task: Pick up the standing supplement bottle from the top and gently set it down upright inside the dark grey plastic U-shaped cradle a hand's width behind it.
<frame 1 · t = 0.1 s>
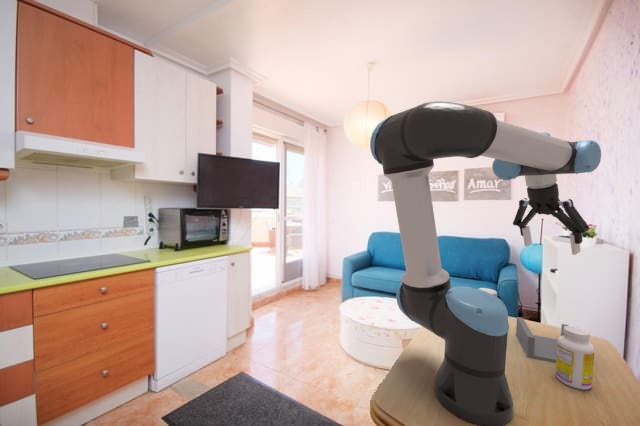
hand: (550, 248, 92), 28 cm above the table, tool tilted 20°, fingers open, 13 cm apart
pill bottle: (484, 337, 91), on the table
u cradle: (547, 349, 84), on the table
supplement bottle: (572, 382, 70), on the table
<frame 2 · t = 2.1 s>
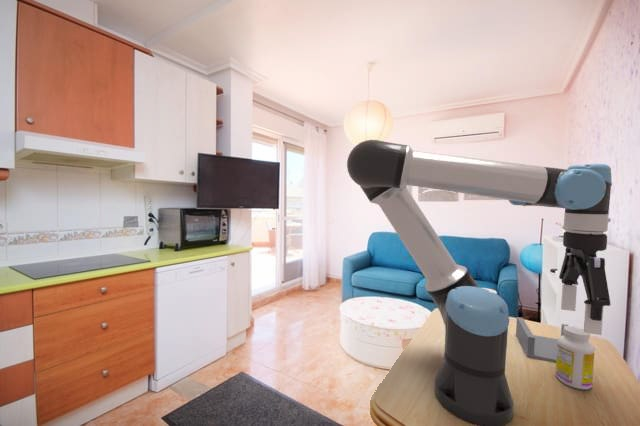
hand: (579, 320, 69), 15 cm above the table, tool pointing down, fingers open, 13 cm apart
nothing on the table moved.
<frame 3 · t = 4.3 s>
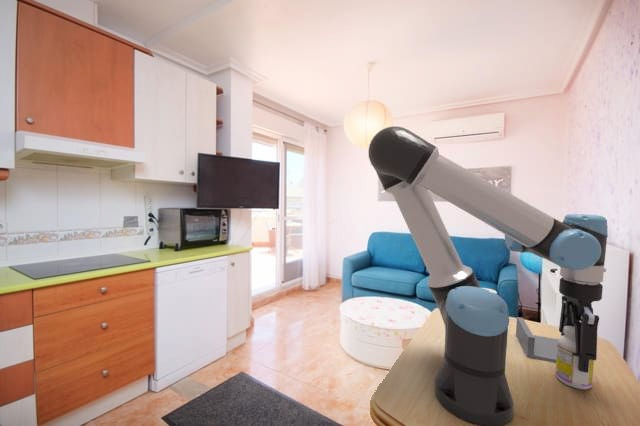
hand: (573, 373, 70), 2 cm above the table, tool pointing down, fingers closed on supplement bottle, 7 cm apart
supplement bottle: (572, 382, 70), on the table, touching gripper
everything else where it was.
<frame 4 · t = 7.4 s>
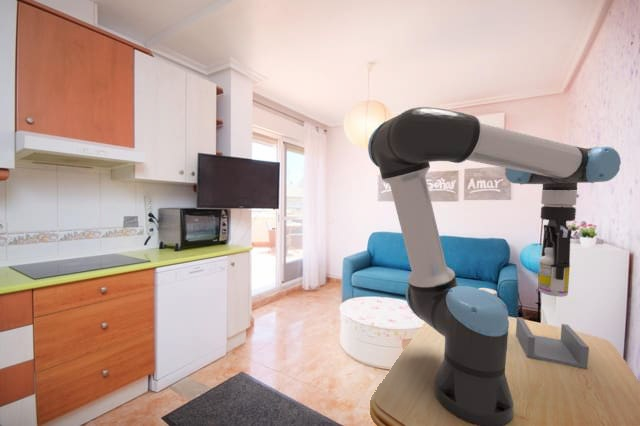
hand: (552, 286, 83), 19 cm above the table, tool pointing down, fingers closed on supplement bottle, 7 cm apart
supplement bottle: (552, 293, 83), point 17 cm above the table, touching gripper
everything else where it was.
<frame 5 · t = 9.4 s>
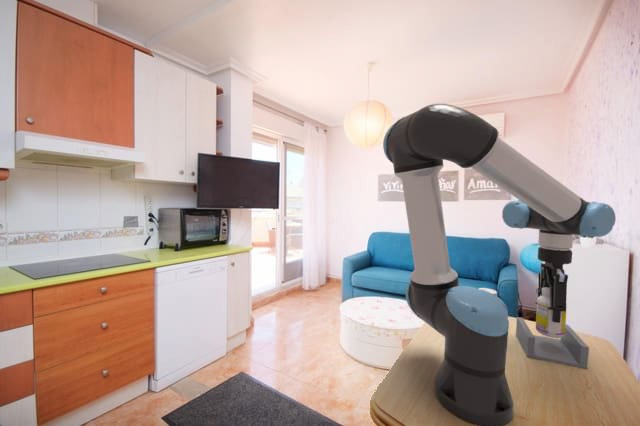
hand: (549, 326, 84), 7 cm above the table, tool pointing down, fingers closed on supplement bottle, 7 cm apart
supplement bottle: (549, 333, 84), point 5 cm above the table, touching gripper
everything else where it was.
when the fingers open (4 cm above the table, at t = 10.8 s): supplement bottle drops 2 cm, resting on u cradle.
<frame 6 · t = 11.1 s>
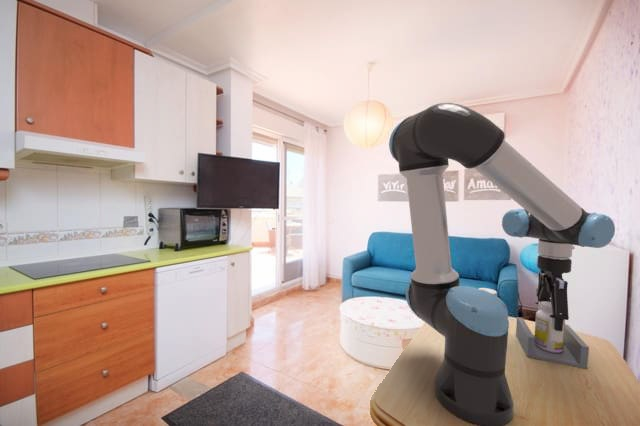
hand: (549, 331, 84), 5 cm above the table, tool pointing down, fingers open, 11 cm apart
supplement bottle: (548, 348, 84), point 1 cm above the table, touching u cradle
everything else where it was.
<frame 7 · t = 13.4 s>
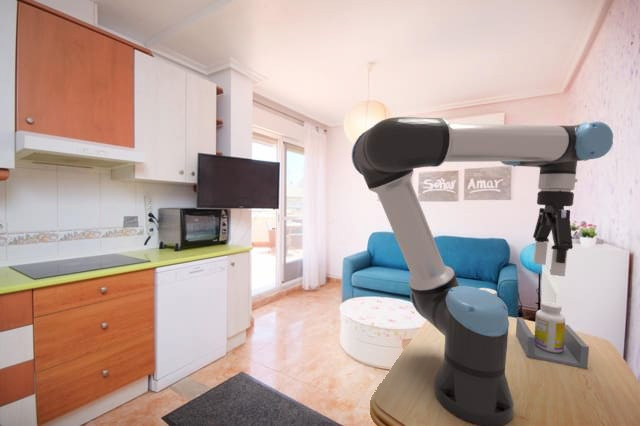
hand: (547, 269, 79), 25 cm above the table, tool pointing down, fingers open, 13 cm apart
nothing on the table moved.
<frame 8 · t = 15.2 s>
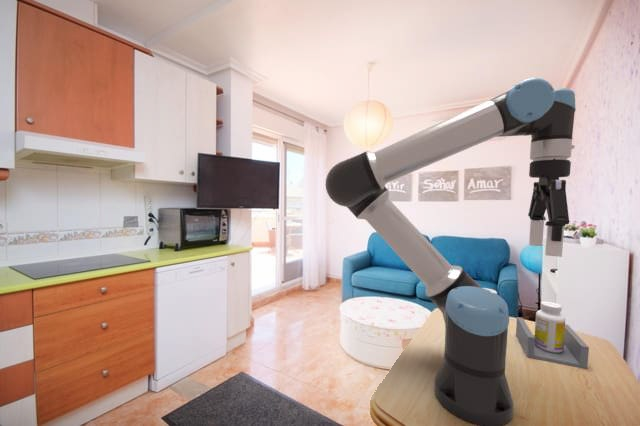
hand: (543, 250, 69), 32 cm above the table, tool pointing down, fingers open, 13 cm apart
nothing on the table moved.
at the end: supplement bottle inside the target area on the u cradle (0.2 cm from its centre), point 0.6 cm above the u cradle's base; supplement bottle tilted 0°; the gripper is holding nothing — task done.
